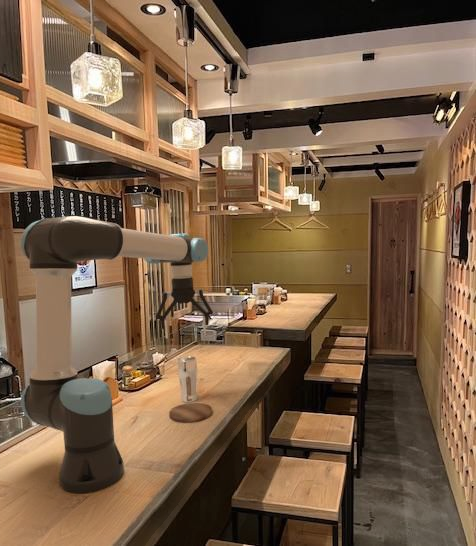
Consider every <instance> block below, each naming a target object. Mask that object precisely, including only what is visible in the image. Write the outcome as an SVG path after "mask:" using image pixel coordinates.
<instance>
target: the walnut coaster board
mask: <svg viewBox="0 0 476 546" xmlns="http://www.w3.org/2000/svg"><path fill="white" fill-rule="evenodd" d="M212 409H213V408H212V407H211V405H209V404H207V403H202V402H186V403H183V404H178V405H177V406H174V407H173V408H171V409H170V410H169V412H168V415H169V419H170V420H171V421H173V422H175V423H180V424H181V423H182V424H188V423H189V424H190V423H197V422H201V421H204V420H206V419H208V418H210V417H211V416H212V415H213V410H212Z"/></svg>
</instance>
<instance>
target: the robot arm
mask: <svg viewBox="0 0 476 546" xmlns="http://www.w3.org/2000/svg"><path fill="white" fill-rule="evenodd" d="M20 248H21V251H22V254H23V255H24V256H25V257H26V259H27V260H29V271H30V272H31V273H32V274H33V275H34V276H35V309H36V310H35V369H34V371H32V372H31V374H29V382H28V383H27V384H26V387H25V388H24V389H23V391H22V394H21V396H20V406H21V409H22V412H23V414H24V416H25V417H26V418H27V419H28V420H30V421H31V422H34V423H35V424H37V425H39V426H43V427H44V426H45V427H48V428H50V429H51V428H52V429H53V430H56V431H60V432H63V442H64V453H63V458H62V461H61V462H62V463H61V466H60V470H59V472H58V474H59V475H58V478H59V486H60V488H61V487H62V488H63V489H64V490H63V489H62V488H61V489H62V490H63V491H65V492H69V493H72V494H86V493H92V492H96V491H100V490H102V489H105V488H108V487H110V486H111V485H113V484H114V483H116V482H118V480H120V479H121V478H122V476H124V475H123V474H124V473H125V467H124V460H123V458H122V454H121V453H120V451H119V448H118V446H117V444H116V442H115V430H114V429H115V427H114V414H113V411H114V410H113V396H112V392H111V388H110V386H109V384H108V383H107V382H105V381H104V380H103V379H99V378H94V377H93V378H92V377H90V378H87V377H83V378H81V377H80V378H78V371H77V370H76V368H74V367H73V366H72V276H73V275H74V274H75V273H76V272H77V271H78V263H80V262H87V261H96V260H97V261H98V260H108V261H109V260H115V259H116V258H118V257H119V258H120V257H121V258H132V259H133V258H136V259H144V261H145V262H147V263H148V264H163V263H165V264H166V263H169V264H170V276H171V291H170V292H168V291H164V292H163V299H162V301H161V303H160V305H159V308H158V310H157V313H156V315H155V319H156V320H160V323H161V330H164V333H165V334H164V335H165V339H169V334H168V333H169V332H168V319H167V316H168V315H169V313H170V312H171V311H172V310H173V308H174V307H175V306H176V304H179V305H180V304H189V303H191V304H192V305H193V306H194V307H195V308H196V309H197V310H198V311H199V312H201V314H202V315H203V316H202V329H203V336H207V328H206V326H209V323H210V322H209V316H211V315H213V314H214V311H213V310H212V308H211V306H210V305H209V302H208V301H207V299H206V298H205V296H204V293H203V290H202V289H201V288H200V289H198V290H197V289H196V290H195V289H194V278H193V263H200V262H203V261H206V259H207V258H208V255H209V245H208V242H207V241H206V240H205V239H204V238H201V237H193V238H191V236H190V235H189V233H184V232H183V233H172V234H169V235H168V234H162V233H156V232H148V231H142V230H136V229H129V228H123V227H121V225H119V224H117V223H114V222H109V221H104V220H100V219H95V218H90V217H84V216H77V215H71V216H70V215H68V216H62V217H60V216H59V217H49V218H43V219H39V220H36V221H33V222H32V223H30V224H29V225H28V226H27V227H25V229H24V231H23V232H22V235H21V239H20ZM195 295H196V296H197V297H199V298H200V299H201V302H202V303H203V305H204V307H205V308H206V310H207V311H206V310H205V309H204V308H203V307H202V306H201V305H200V304H199V303H198V301H196V300H195V299H194V296H195ZM170 296H171V297H172V299H173V300H172V302H171V303H170V304H169V305H168V307H167V309H166V310H165V311H164V312H163V309H164V307H165V305H166V302H167V300H168V299H169V298H170ZM162 312H163V313H162ZM161 314H162V315H161ZM73 492H74V493H73Z"/></svg>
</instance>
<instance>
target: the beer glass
mask: <svg viewBox="0 0 476 546" xmlns="http://www.w3.org/2000/svg"><path fill="white" fill-rule="evenodd" d="M177 375H178V380H179V384H180V389H181V396H180V401H181V402H182V403H195V402H196V401H197V400H198V399H199V396H198V394H197V382H198V363H197V358H196V356H191V355H190V356H188V355H187V356H183V357H178V359H177Z"/></svg>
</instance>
